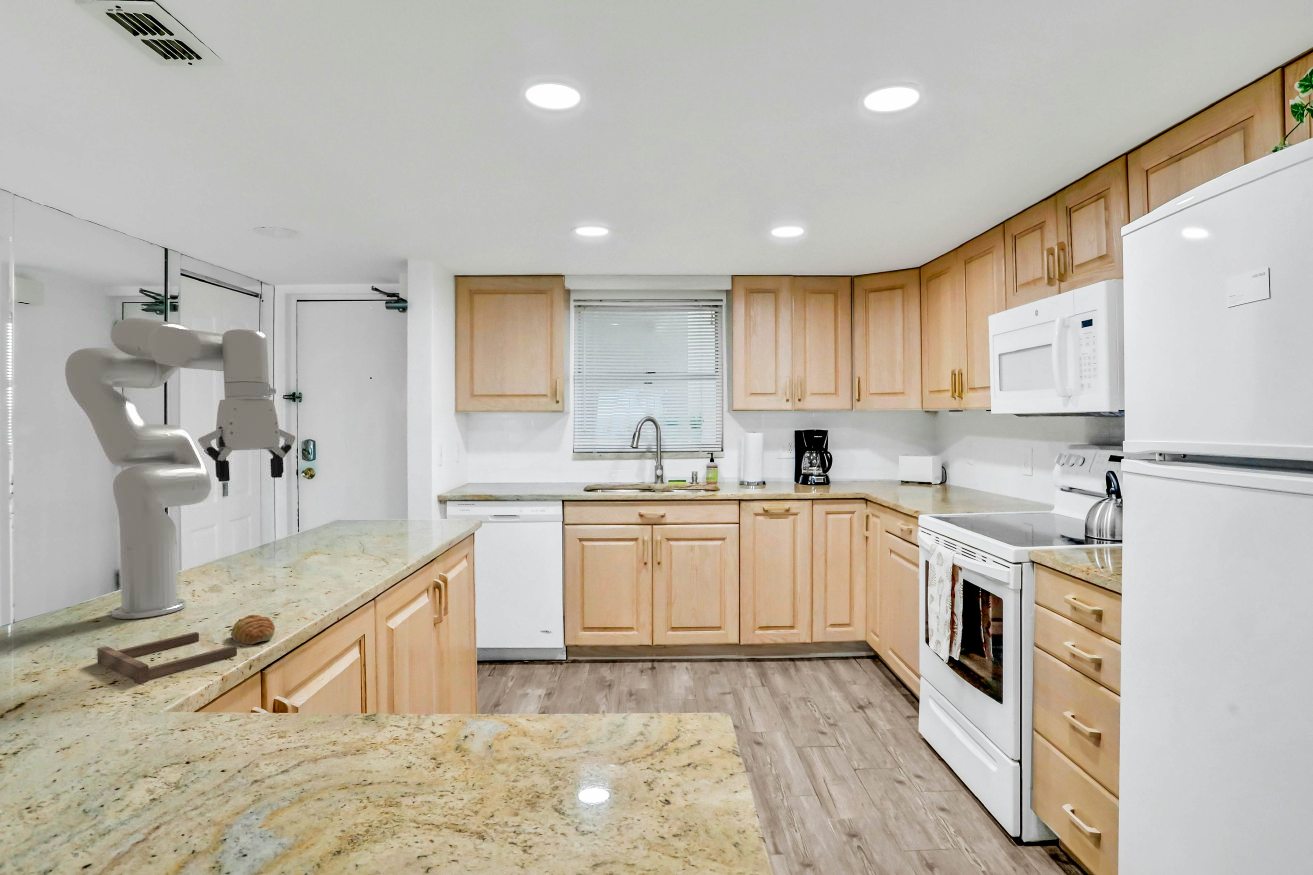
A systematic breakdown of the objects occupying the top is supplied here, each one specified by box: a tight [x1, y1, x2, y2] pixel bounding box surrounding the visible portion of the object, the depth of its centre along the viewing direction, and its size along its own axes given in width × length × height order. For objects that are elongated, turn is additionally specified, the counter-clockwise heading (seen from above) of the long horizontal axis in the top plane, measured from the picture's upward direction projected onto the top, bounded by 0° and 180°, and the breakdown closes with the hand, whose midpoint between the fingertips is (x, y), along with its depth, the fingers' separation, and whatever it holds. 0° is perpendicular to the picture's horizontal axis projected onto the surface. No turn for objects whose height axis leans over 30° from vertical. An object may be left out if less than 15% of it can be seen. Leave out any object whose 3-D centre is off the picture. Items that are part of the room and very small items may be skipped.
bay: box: [96, 631, 238, 685], centre depth 109 cm, size 17×14×2 cm
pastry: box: [230, 614, 276, 645], centre depth 120 cm, size 9×7×4 cm
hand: (251, 479), depth 127 cm, fingers open, 9 cm apart
